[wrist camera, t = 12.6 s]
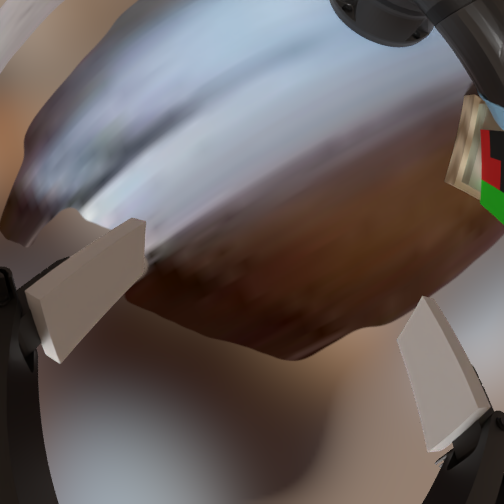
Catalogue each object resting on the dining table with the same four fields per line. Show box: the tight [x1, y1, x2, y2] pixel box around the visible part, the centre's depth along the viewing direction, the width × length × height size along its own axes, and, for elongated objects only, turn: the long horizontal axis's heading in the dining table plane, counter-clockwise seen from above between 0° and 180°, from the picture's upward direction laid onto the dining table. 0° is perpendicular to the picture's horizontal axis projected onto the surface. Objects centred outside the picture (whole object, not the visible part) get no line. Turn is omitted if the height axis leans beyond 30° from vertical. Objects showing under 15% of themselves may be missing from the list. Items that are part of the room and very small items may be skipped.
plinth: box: [444, 94, 504, 200], centre depth 26 cm, size 14×14×5 cm
